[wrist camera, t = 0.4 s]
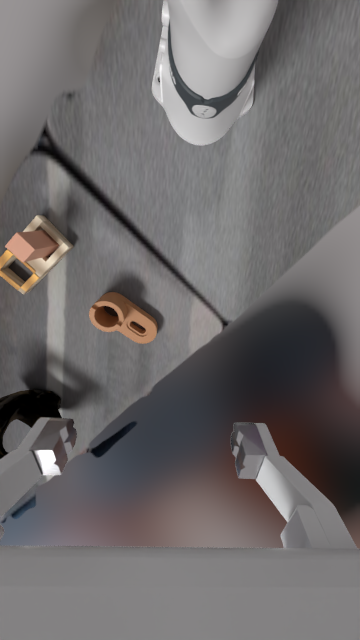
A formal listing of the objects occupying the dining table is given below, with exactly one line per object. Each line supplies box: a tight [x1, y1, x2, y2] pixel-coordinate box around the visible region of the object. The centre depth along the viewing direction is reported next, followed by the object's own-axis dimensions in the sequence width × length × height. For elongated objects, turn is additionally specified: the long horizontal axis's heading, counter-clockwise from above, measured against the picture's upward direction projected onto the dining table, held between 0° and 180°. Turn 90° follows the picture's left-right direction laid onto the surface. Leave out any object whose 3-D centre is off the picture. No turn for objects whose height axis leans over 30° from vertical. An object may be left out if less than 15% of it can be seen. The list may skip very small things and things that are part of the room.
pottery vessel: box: [0, 389, 62, 459], centre depth 62 cm, size 25×11×20 cm, turn 43°
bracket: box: [89, 292, 158, 344], centre depth 55 cm, size 18×8×7 cm, turn 50°
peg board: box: [0, 215, 74, 294], centre depth 49 cm, size 18×8×3 cm, turn 128°
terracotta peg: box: [5, 230, 60, 263], centre depth 45 cm, size 4×4×10 cm
